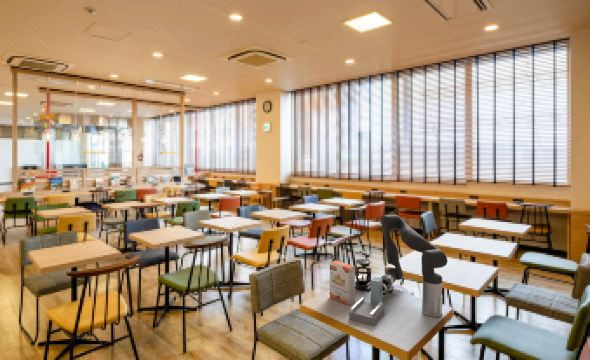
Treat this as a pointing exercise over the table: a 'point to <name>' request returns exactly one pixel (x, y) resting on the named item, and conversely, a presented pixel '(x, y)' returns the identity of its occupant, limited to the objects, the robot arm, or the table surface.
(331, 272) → the cracker box
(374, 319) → the stand
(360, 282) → the french press
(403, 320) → the table surface
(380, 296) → the light blue rectangular block
